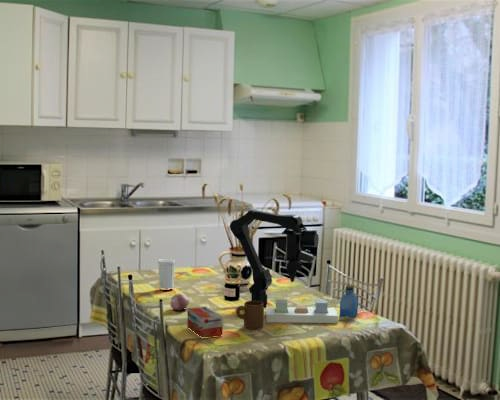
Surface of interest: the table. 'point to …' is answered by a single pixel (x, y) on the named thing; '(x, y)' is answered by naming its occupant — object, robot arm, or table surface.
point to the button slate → (321, 306)
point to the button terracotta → (301, 309)
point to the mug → (252, 314)
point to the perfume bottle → (349, 303)
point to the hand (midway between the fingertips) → (292, 281)
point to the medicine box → (204, 321)
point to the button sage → (281, 305)
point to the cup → (166, 273)
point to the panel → (301, 316)
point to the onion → (179, 302)
